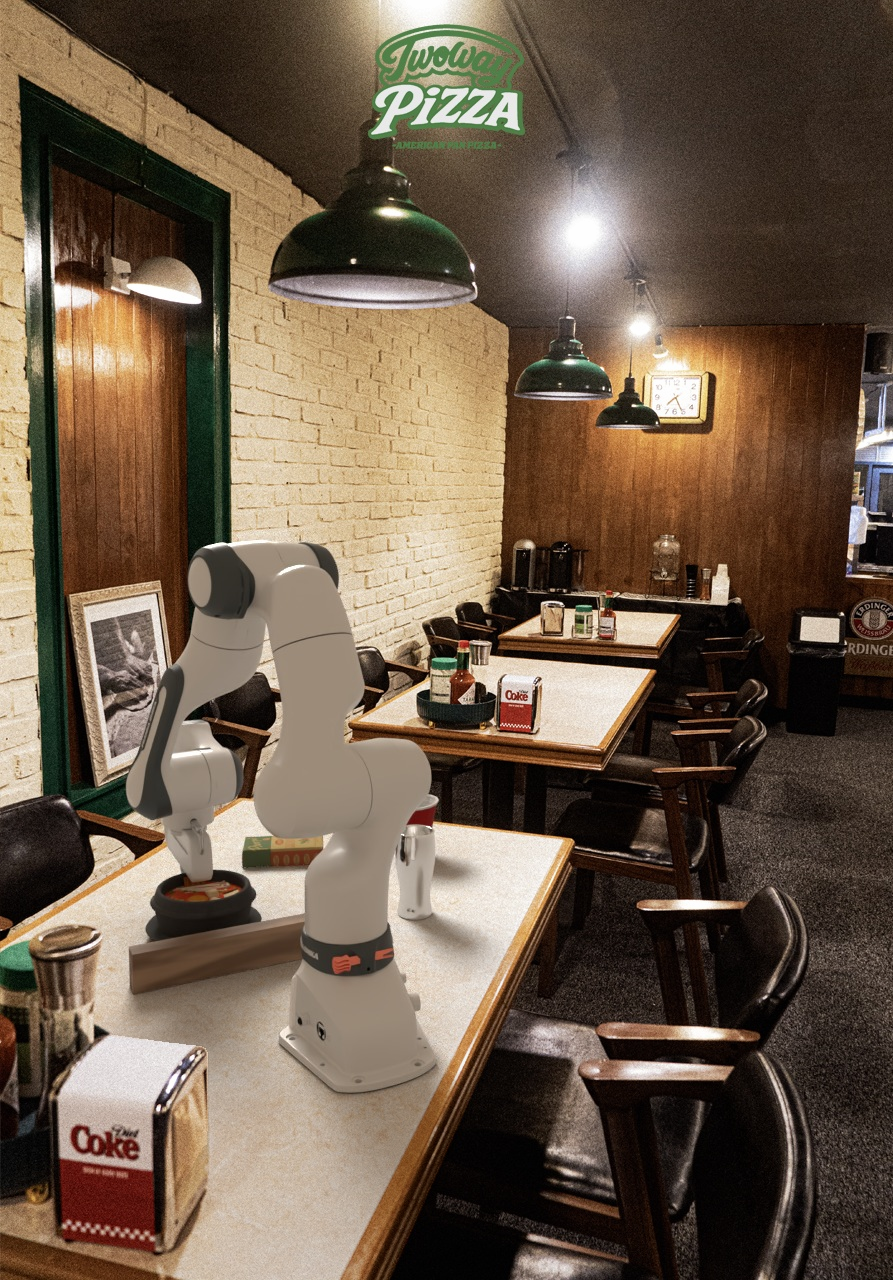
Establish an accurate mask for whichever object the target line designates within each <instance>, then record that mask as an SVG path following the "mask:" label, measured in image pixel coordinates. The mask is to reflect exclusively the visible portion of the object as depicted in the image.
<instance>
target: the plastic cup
mask: <svg viewBox="0 0 893 1280" xmlns="http://www.w3.org/2000/svg"><path fill="white" fill-rule="evenodd" d="M439 800H440V799H439V798H438V796H435V795H433V794H429V793H428V796H427V797H426V799H425V800H424V801H423V803H422V804H421V805H420V806H419V807H418V808H417V809H416V810H415V812H414V813H413V814H412V816H411V817H410V819H409V821H408V822H407V824H406V825H426V826H429V827H432V828H433V827H434V822H435V821H434V819H435V815H436V811H437V805H438V803H439Z"/></svg>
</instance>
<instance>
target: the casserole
mask: <svg viewBox="0 0 893 1280" xmlns="http://www.w3.org/2000/svg"><path fill="white" fill-rule="evenodd" d="M256 898H257V892H256V889H255V888H254V887H253V886H252V884H251V881H250V880H249V878H248V877H247V876H246V875H244V874H241V873H239V872H237V871H232V870H225V869H213V875H212V878H211V879H210V880H206V881H200V882H191V880H190V879H189V877H188V876H187V875H186V873H182V874H181V873H179V874H176V875H173V876H169V877H168V878H166V879H164V880H162V881H161V883H159V884H158V886H157V887H156V890H155V892H154V895H153V896H152V897H151V898H150V900H149V905H150V908H151V909H152V910H153V911H154V915H153V916H152V917H151V918H150V919H149V920H148V921H147V923H146V925H145V934H146V935H147V936H148V937H149V938H150V939H151V940H152V941H153V942H155V941H160V940H166V939H171V938H176V937H182V936H187V935H192V934H198V933H203V932H208V931H213V930H219V929H224V928H229V927H235V926H240V925H245V924H251V923H256V922H261V921H263V920H262V915H261V913H260V912H259V910H257V909H256V908H255V907H253V906H252V905H253V902H254V901H255V900H256Z"/></svg>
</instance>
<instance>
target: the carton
mask: <svg viewBox="0 0 893 1280" xmlns="http://www.w3.org/2000/svg"><path fill="white" fill-rule="evenodd" d="M323 849H324V836H320V837H316V838H304V839H280V838H277V837H275V836H273V835H264V836H263V835H262V836H245V838H244V843H243V847H242V851H241V852H242V853H241V865H242V868H243V869H249V868H248V867H254V868H273V867H274V868H275V867H277V868H278V867H303V866H304V867H305V866H308V867H309V865H310V864H311V862H312V861H313V860H314V859H315V857H316V856H317V855H318V854H319V853H320V852H321V851H322V850H323Z"/></svg>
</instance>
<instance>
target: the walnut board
mask: <svg viewBox="0 0 893 1280" xmlns="http://www.w3.org/2000/svg"><path fill="white" fill-rule="evenodd" d="M304 924H305V912H304V913H299V914H298V913H297V914H294V915H289V916H282V917H278V918H277V917H276V918H271V919H266V920H261V922H256V923H251V924H245V925H240V926H235V927H229V928H224V929H219V930H213V931H208V932H203V933H198V934H192V935H187V936H182V937H176V938H171V939H166V940H160V941H151V942H145V943H140V944H135V945H129V946H128V971H129V972H128V974H129V987H130V989H131V992H132V994H133V995H137V994H143V993H147V992H151V991H157V990H160V989H166V988H171V987H175V986H180V985H184V984H189V983H193V982H195V983H196V982H199V981H204V980H208V979H214V978H218V977H222V976H227V975H232V974H236V973H242V972H246V971H250V970H255V969H260V968H265V967H270V966H273V965H274V966H275V965H278V964H284V963H288V962H292V961H297V960H303V957H302V955H301V935H302V927H303V926H304Z"/></svg>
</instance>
